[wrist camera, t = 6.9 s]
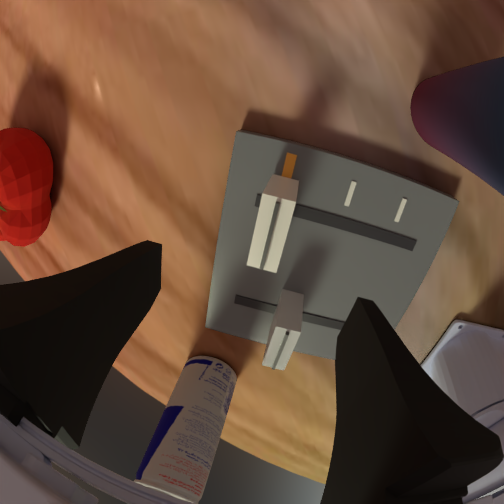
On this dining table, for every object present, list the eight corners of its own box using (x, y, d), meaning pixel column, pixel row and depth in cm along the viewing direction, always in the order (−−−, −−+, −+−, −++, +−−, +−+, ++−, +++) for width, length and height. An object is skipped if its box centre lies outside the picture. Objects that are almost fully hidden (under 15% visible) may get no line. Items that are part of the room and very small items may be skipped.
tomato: (73, 135, 20) (14, 154, 14) (63, 241, 25) (20, 275, 19) (14, 114, 19) (-36, 129, 14) (10, 207, 25) (-30, 231, 19)
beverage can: (188, 345, 28) (127, 477, 15) (242, 362, 28) (200, 503, 15) (185, 376, 31) (136, 490, 18) (233, 391, 30) (196, 511, 17)
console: (451, 195, 17) (490, 228, 12) (368, 356, 25) (373, 405, 20) (240, 129, 18) (214, 139, 13) (209, 318, 26) (188, 364, 21)
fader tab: (299, 180, 17) (295, 204, 13) (283, 239, 19) (275, 276, 15) (272, 173, 17) (261, 195, 13) (258, 233, 19) (245, 268, 15)
